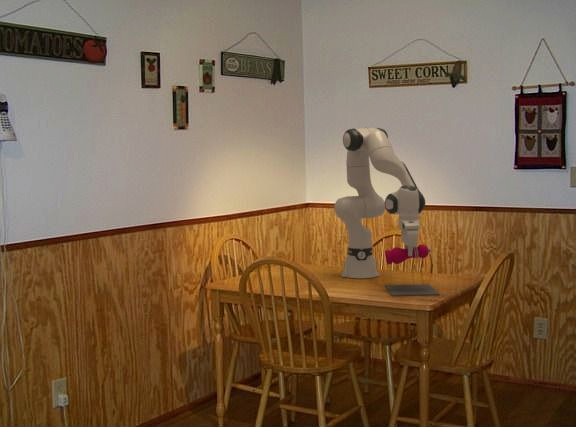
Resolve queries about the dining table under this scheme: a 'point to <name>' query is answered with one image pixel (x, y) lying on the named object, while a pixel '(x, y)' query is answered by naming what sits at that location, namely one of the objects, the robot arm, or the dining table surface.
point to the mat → (411, 290)
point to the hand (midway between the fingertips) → (409, 255)
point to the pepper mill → (406, 254)
